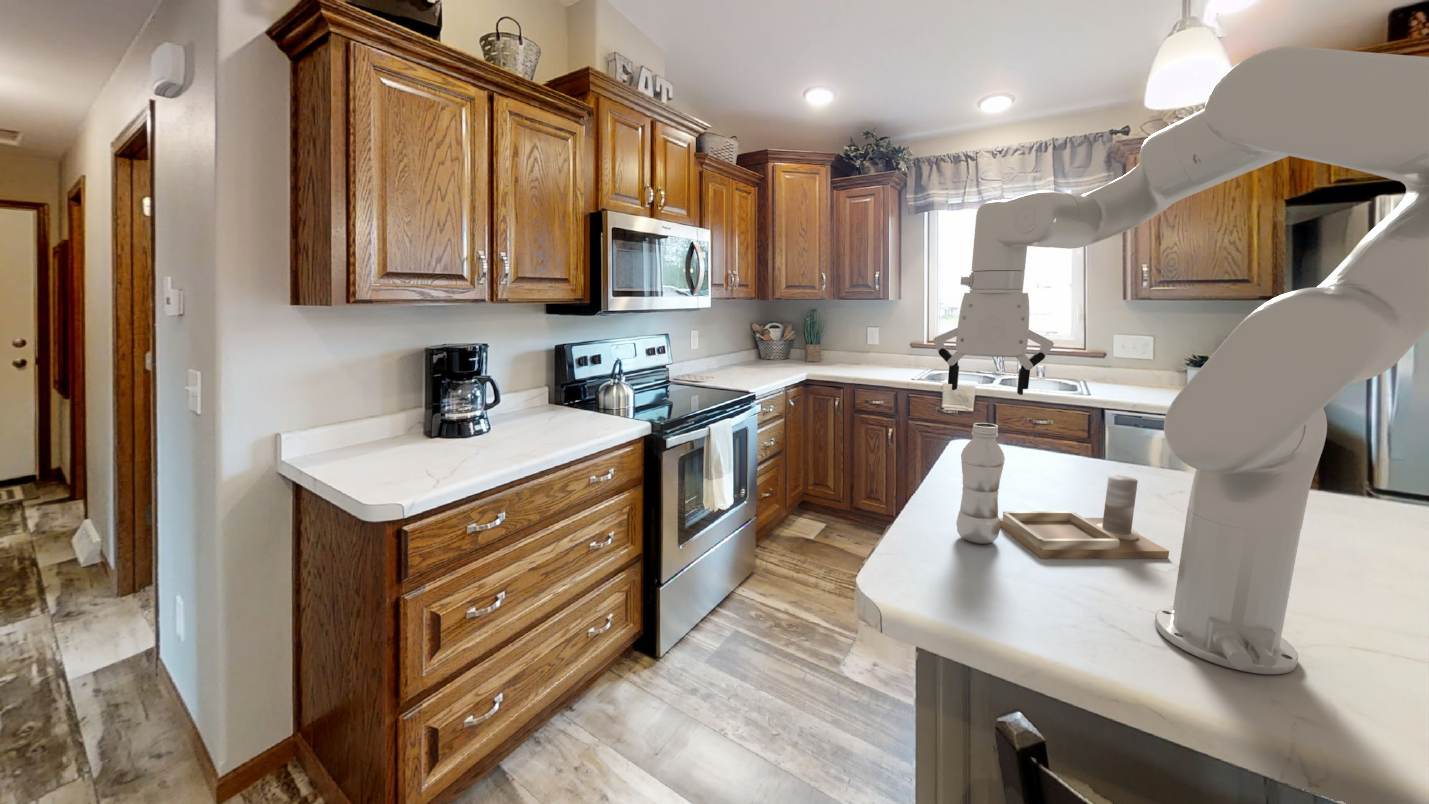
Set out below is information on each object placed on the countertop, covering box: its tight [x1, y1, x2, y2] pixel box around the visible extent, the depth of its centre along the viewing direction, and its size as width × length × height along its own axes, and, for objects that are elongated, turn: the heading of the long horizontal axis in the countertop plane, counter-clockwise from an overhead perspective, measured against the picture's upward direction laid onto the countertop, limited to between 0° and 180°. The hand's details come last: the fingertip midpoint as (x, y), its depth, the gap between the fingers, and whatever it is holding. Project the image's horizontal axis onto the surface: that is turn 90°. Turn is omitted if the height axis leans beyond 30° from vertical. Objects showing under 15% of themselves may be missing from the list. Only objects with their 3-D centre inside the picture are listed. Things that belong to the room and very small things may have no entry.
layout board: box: [999, 474, 1170, 560], centre depth 95 cm, size 20×14×11 cm
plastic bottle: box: [956, 422, 1005, 544], centre depth 95 cm, size 6×7×20 cm
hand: (986, 391), depth 92 cm, fingers open, 9 cm apart
